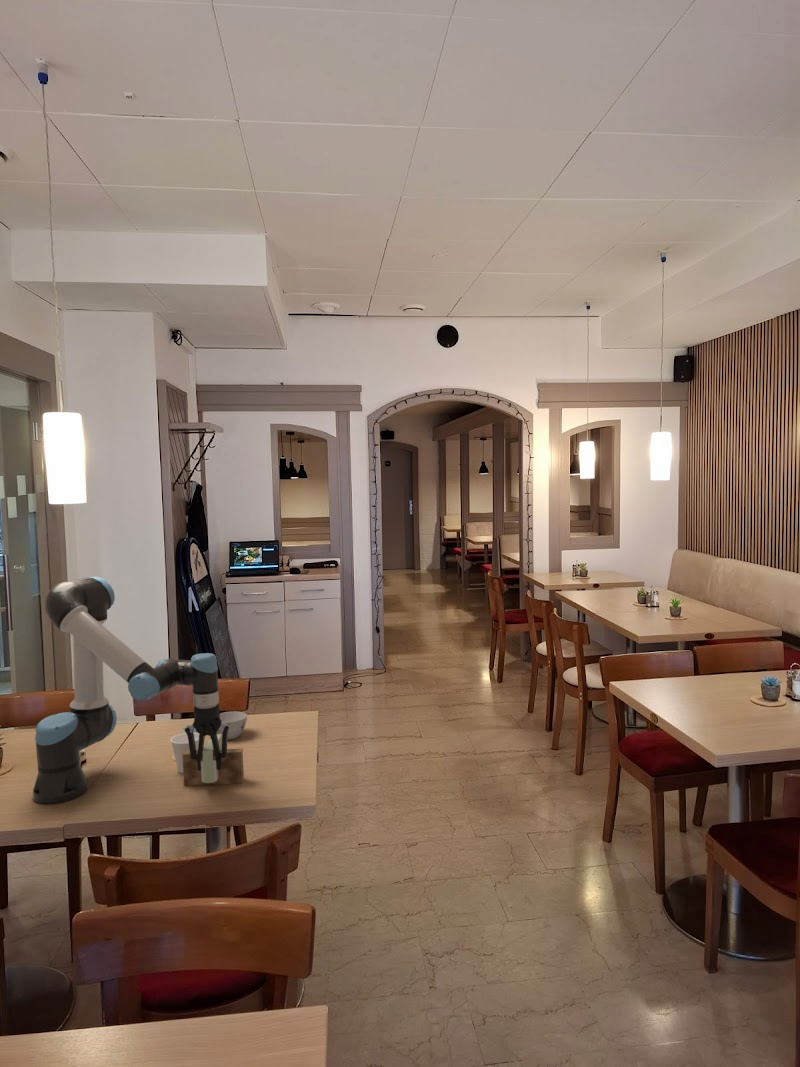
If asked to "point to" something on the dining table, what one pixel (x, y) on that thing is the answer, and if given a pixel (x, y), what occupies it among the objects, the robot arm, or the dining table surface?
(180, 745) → the cup
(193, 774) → the walnut board
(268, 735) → the dining table surface
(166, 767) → the dining table surface
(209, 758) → the green board
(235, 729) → the teacup
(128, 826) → the dining table surface
